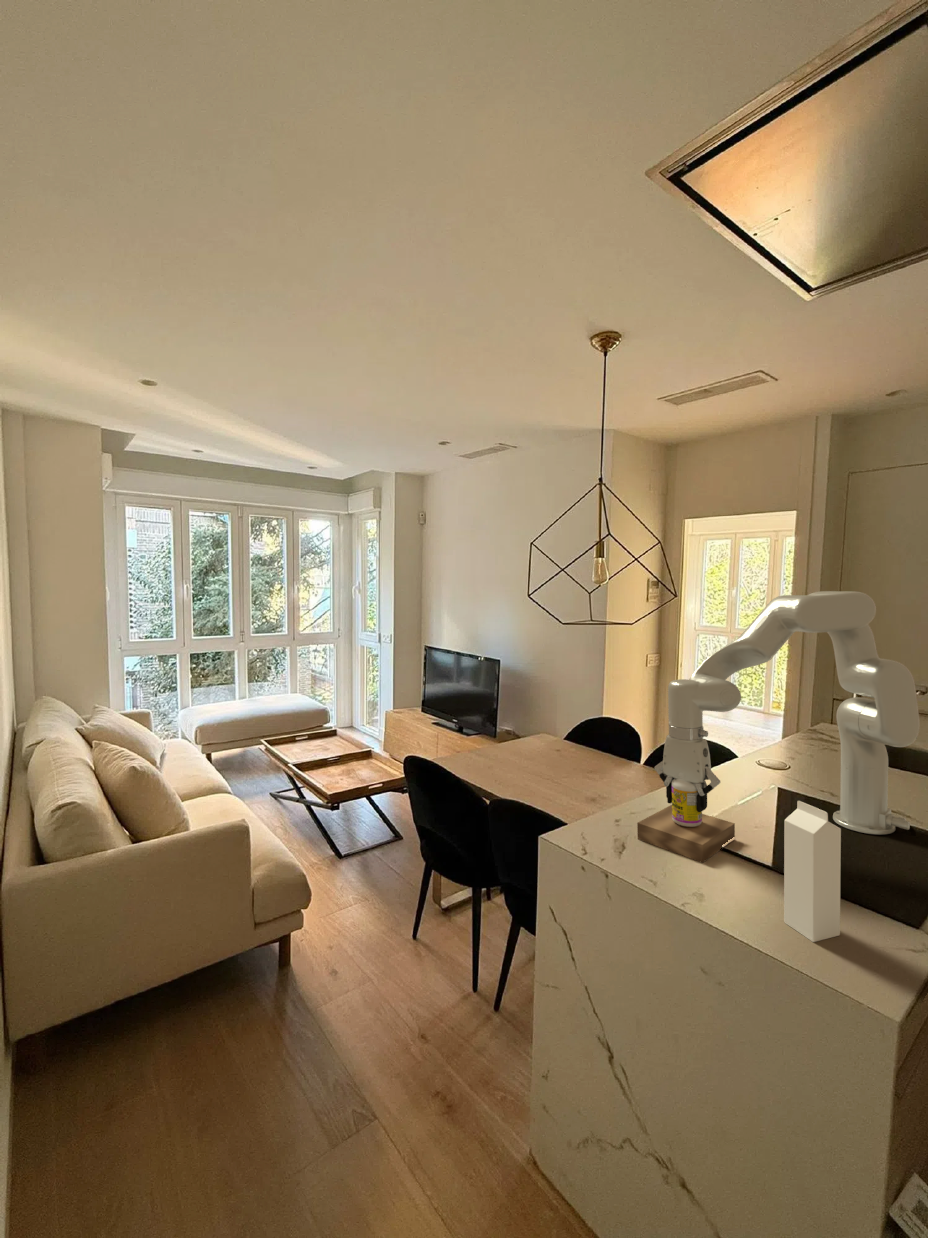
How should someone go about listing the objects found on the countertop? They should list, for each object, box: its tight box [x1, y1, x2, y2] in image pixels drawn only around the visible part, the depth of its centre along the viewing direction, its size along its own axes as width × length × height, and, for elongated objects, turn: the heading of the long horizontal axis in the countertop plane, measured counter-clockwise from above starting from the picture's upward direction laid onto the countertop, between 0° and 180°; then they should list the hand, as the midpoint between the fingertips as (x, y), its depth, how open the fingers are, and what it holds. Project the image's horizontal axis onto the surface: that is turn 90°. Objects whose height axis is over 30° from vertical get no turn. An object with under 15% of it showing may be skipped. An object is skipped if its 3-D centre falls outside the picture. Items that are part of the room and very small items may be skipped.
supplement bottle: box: [671, 772, 703, 827], centre depth 132 cm, size 7×7×13 cm
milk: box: [783, 800, 842, 943], centre depth 97 cm, size 6×6×22 cm
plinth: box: [636, 804, 736, 863], centre depth 132 cm, size 16×16×4 cm
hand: (686, 805), depth 132 cm, fingers closed on supplement bottle, 6 cm apart
